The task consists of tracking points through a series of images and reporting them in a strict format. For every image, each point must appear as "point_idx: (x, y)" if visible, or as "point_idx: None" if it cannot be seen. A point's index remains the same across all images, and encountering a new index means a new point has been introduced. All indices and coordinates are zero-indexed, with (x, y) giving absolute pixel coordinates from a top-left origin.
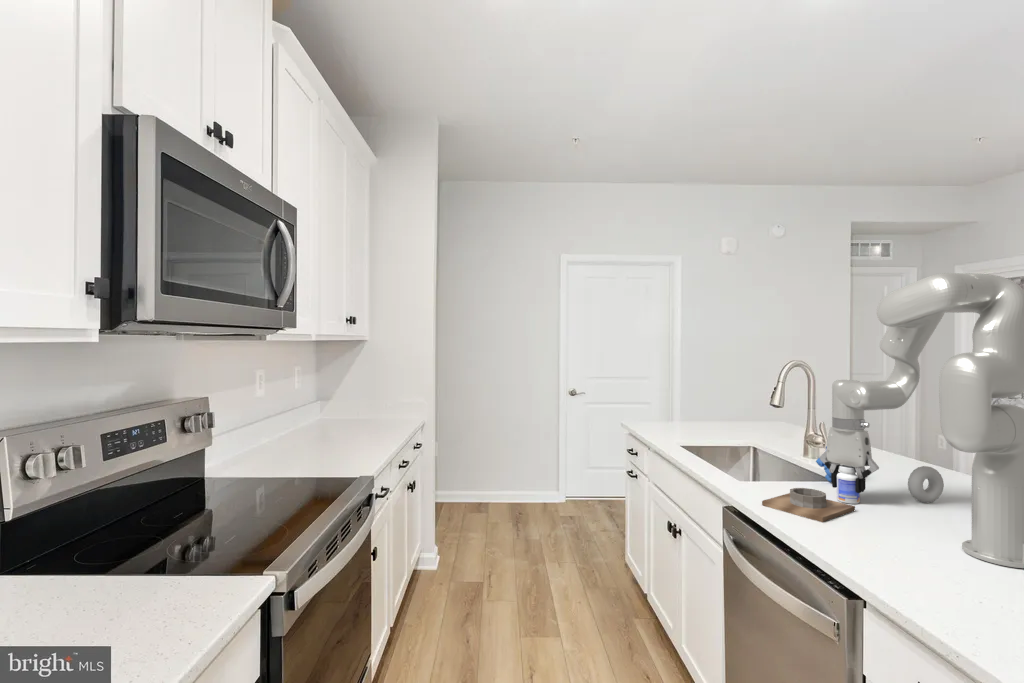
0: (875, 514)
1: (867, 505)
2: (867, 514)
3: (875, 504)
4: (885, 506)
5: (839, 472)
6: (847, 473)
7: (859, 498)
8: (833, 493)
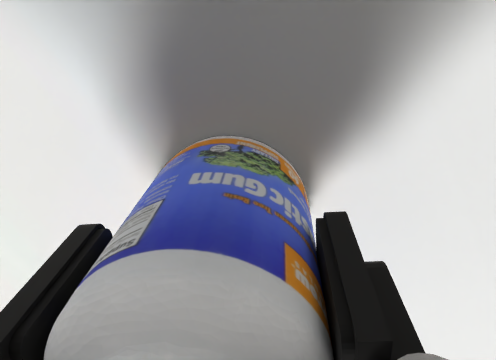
0: (475, 311)
1: (362, 176)
2: (440, 342)
3: (391, 92)
4: (472, 74)
5: (4, 355)
6: None
7: (307, 201)
8: (24, 87)
